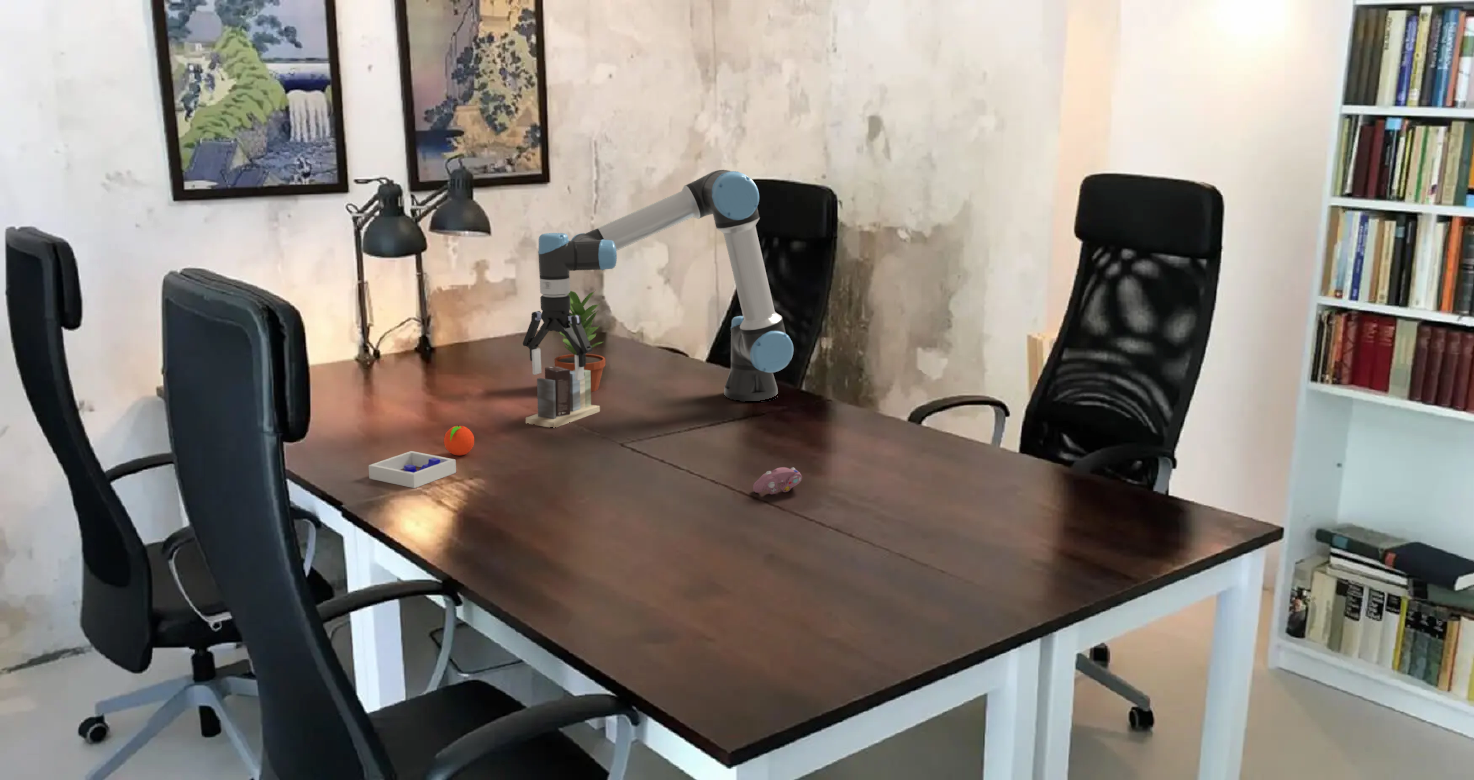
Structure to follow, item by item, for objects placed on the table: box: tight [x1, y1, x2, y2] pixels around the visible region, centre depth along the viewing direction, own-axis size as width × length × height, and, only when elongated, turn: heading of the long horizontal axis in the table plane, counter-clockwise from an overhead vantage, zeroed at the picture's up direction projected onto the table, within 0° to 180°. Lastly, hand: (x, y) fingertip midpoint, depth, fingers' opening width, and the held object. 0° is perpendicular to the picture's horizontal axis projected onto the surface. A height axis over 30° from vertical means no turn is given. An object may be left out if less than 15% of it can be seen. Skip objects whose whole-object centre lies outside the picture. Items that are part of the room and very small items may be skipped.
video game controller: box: [752, 466, 803, 495], centre depth 254 cm, size 10×5×7 cm, turn 119°
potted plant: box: [554, 289, 606, 393], centre depth 342 cm, size 15×15×30 cm
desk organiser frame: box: [368, 450, 457, 489], centre depth 262 cm, size 13×13×3 cm
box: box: [544, 366, 570, 417], centre depth 309 cm, size 6×4×12 cm
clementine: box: [443, 425, 475, 457], centre depth 277 cm, size 8×7×7 cm
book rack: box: [525, 370, 601, 429], centre depth 312 cm, size 9×20×12 cm, turn 151°
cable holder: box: [403, 458, 440, 473], centre depth 260 cm, size 8×4×4 cm, turn 142°
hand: (558, 376), depth 309 cm, fingers open, 13 cm apart
